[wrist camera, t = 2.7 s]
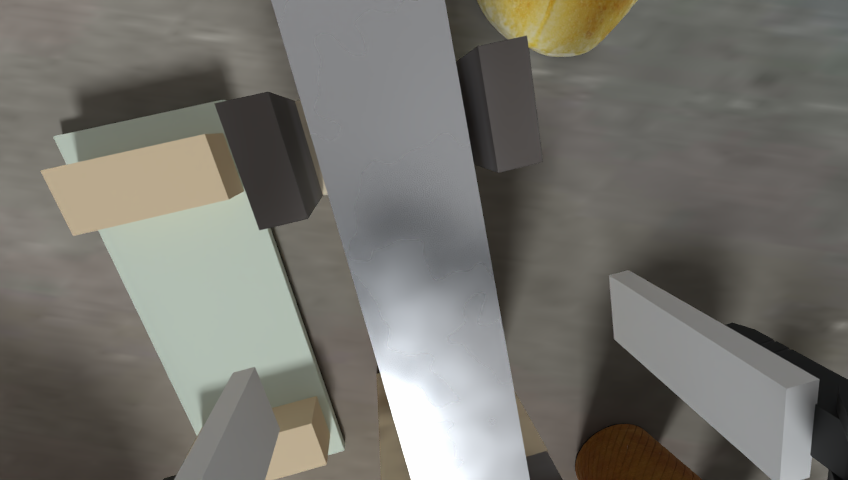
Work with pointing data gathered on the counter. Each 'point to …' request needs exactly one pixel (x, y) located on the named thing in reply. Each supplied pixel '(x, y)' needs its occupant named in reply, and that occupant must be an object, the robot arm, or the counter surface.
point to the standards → (304, 186)
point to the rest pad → (198, 269)
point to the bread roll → (556, 22)
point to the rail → (410, 224)
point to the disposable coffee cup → (628, 457)
